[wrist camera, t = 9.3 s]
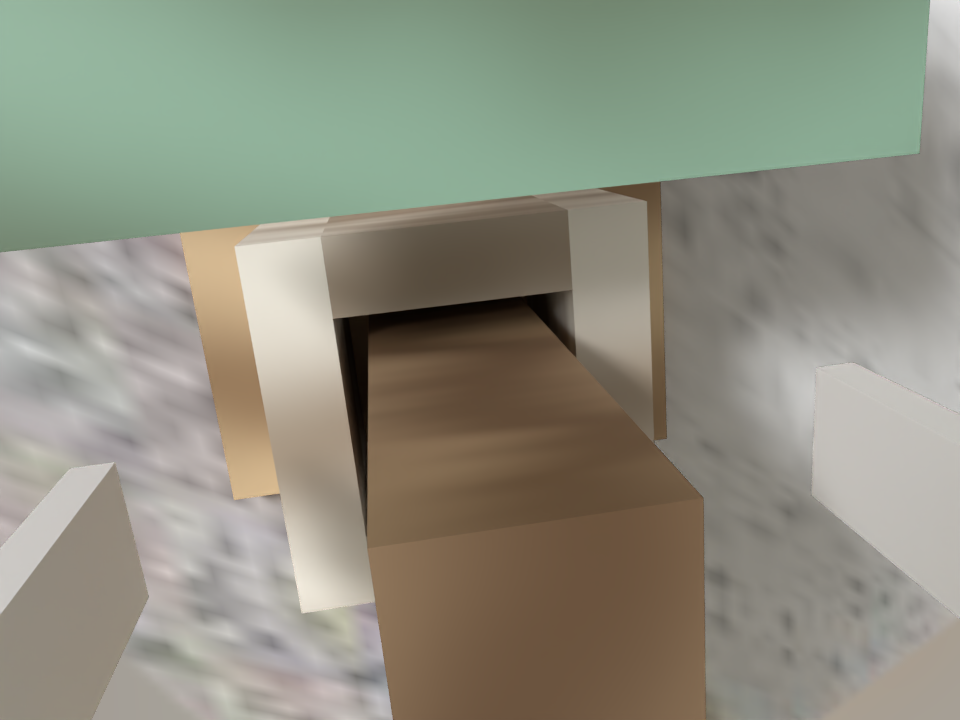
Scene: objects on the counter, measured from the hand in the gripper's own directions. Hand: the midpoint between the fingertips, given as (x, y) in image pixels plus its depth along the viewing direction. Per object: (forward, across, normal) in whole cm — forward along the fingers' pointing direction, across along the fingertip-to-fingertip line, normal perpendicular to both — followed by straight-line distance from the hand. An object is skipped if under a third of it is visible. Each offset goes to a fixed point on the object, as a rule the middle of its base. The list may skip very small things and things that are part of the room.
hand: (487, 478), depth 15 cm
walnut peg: (+10, 0, 0) cm, 10 cm away
